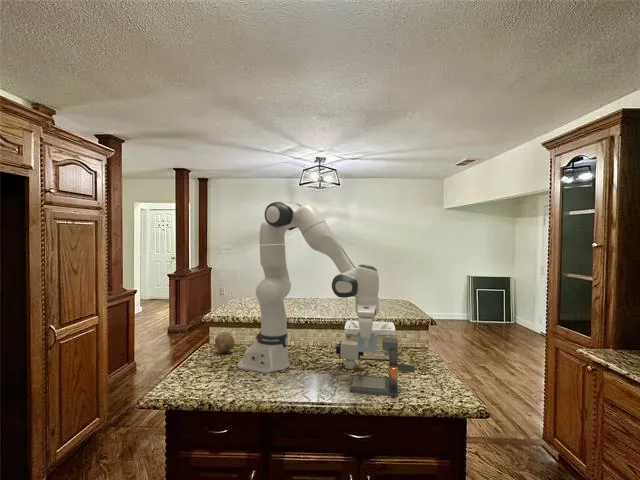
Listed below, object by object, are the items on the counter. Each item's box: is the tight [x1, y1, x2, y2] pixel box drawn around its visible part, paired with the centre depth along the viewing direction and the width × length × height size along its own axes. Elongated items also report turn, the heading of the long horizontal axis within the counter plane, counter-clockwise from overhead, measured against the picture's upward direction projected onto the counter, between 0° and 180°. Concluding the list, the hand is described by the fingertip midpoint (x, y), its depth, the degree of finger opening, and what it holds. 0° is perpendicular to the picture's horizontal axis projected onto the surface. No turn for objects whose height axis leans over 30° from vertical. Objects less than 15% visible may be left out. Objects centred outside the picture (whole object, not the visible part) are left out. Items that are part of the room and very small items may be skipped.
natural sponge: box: [214, 331, 236, 354], centre depth 172 cm, size 9×9×10 cm
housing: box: [357, 332, 377, 353], centre depth 136 cm, size 7×5×6 cm
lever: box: [388, 366, 399, 381], centre depth 127 cm, size 3×6×4 cm, turn 169°
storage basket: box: [344, 319, 396, 361], centre depth 173 cm, size 24×16×15 cm
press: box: [349, 337, 416, 398], centre depth 135 cm, size 23×14×18 cm, turn 79°
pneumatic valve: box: [335, 340, 364, 370], centre depth 155 cm, size 6×12×12 cm, turn 78°
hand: (366, 344), depth 136 cm, fingers closed on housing, 5 cm apart
